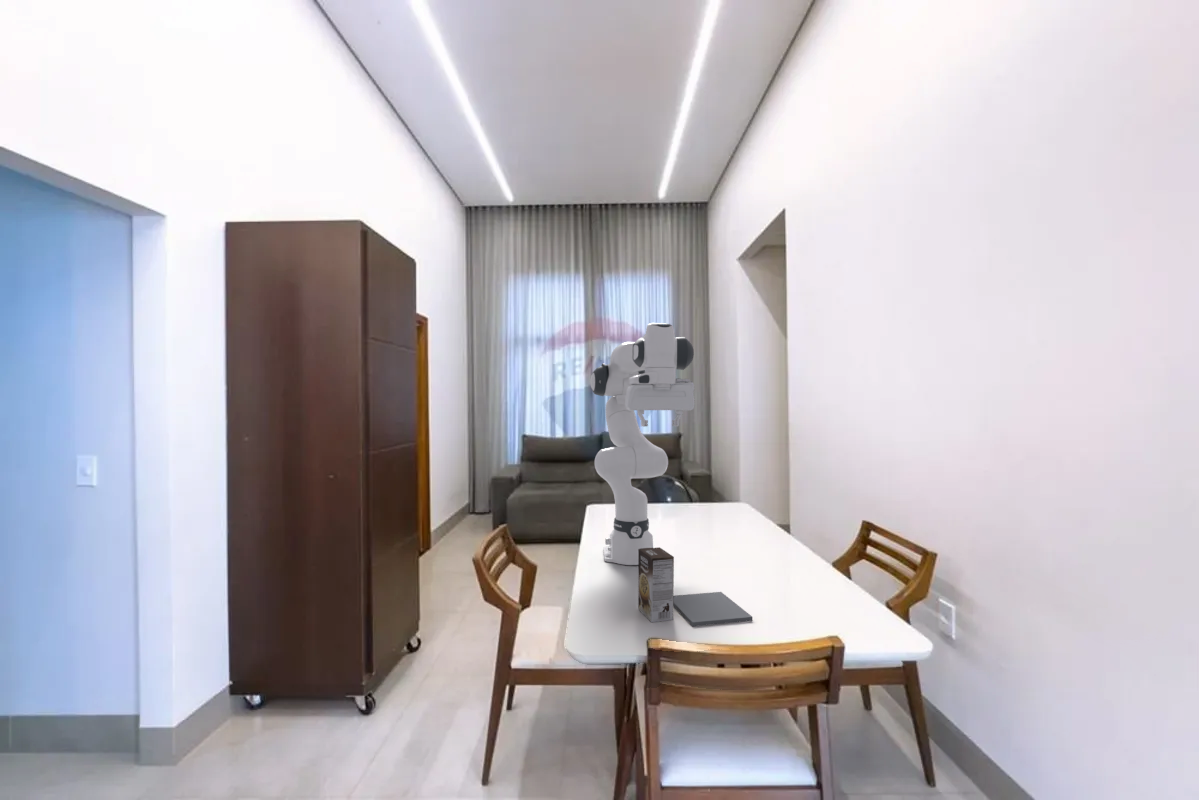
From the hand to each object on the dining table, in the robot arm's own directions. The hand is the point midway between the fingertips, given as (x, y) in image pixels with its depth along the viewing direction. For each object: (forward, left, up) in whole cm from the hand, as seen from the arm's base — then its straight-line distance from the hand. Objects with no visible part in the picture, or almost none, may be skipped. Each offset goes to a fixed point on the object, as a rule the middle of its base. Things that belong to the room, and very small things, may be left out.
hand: (660, 426), depth 157 cm
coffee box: (+16, -7, -48) cm, 51 cm away
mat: (+16, +8, -48) cm, 51 cm away
